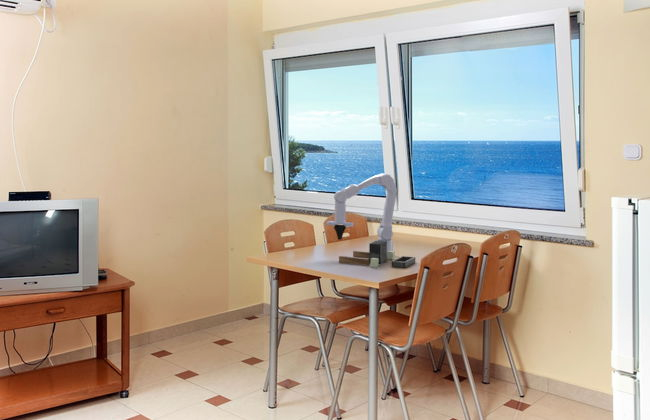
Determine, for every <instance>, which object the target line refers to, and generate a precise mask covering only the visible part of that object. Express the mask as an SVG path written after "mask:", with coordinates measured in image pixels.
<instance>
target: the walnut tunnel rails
mask: <svg viewBox="0 0 650 420" xmlns="http://www.w3.org/2000/svg"><path fill="white" fill-rule="evenodd" d="M338 263H342V264H350V265H351V264H352V265H362V266H371V264H370V259H369V251H363V250H362V251H361V250H353V251H352V256H345V255H340V256H338Z"/></svg>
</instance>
